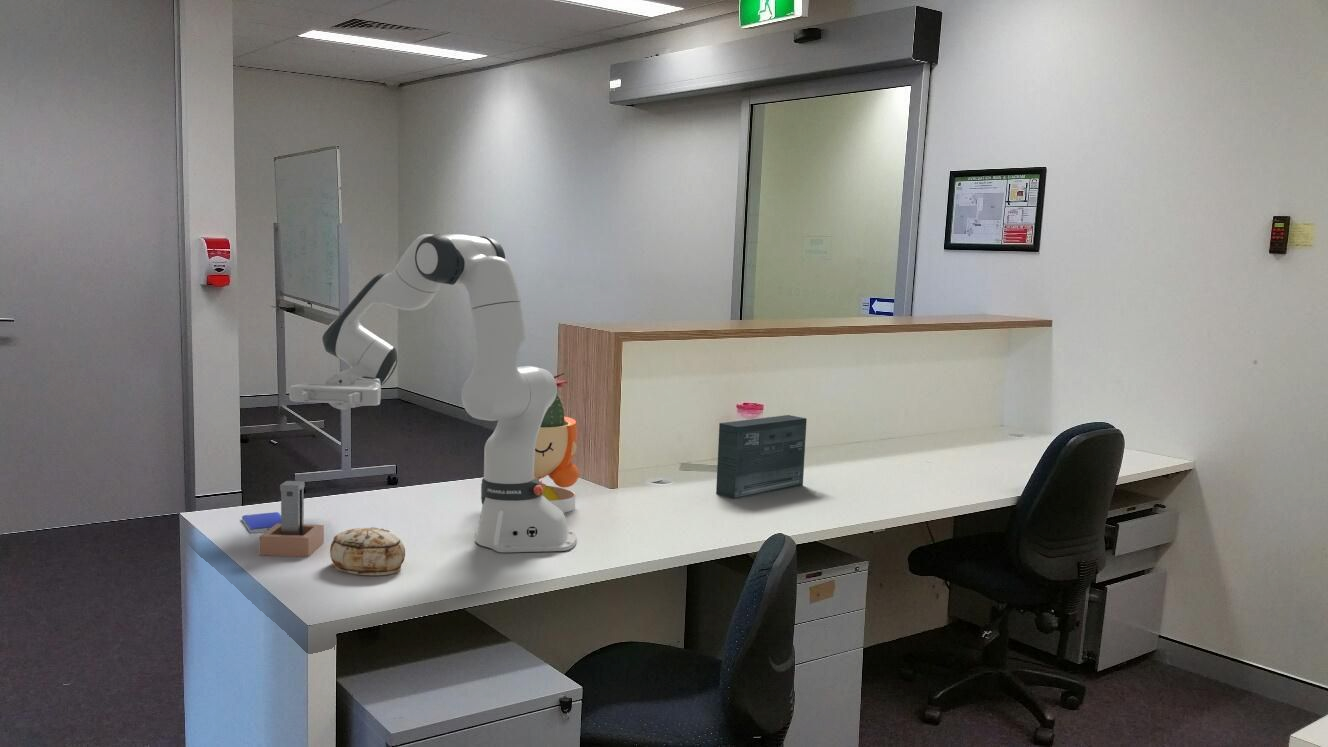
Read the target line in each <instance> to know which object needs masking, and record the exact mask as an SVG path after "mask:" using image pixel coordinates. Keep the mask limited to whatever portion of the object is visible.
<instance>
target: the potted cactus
mask: <svg viewBox="0 0 1328 747" xmlns="http://www.w3.org/2000/svg"><path fill="white" fill-rule="evenodd" d="M563 375H565V372H562V373H560V374H558V375H555V376H554V375H553V377H554V379H555V381H556V384H557V389H558V388H563V385H564V384H568V381H567V380H559V379H557V378H559V377H561V376H563ZM562 399H563V396H559V391H558V390H557V395H556V398H555V400H554V402H553V403H552V405H551V406H550V407H549V408H548V410H547V411H546V413H545V416H544V418H543V421H542V423H541V426H540V429H539V433H538V436H537V441H536V447H535V462H534V478H535V479H537V480H538V481H540V480H541V479H543V478H546V477H547V476H548V477H549V478H550V479H551V480H552V481H553V483H554V484H555V485H556V486H552V485H547V484H546V483H543V494H542V496H544V497H545V498H546V499H547V500H549V501H550V502H551V503H553V504H554V505H555V506H556V507H558V508H559V509H560V510H562V512H563V513H564V514H565V513H568V512H572V511H573V510H575V509H576V499H577V498H576V496H577V494H576V493H575V492H574V491H573V490H571V489H568V488H569V487H571V486H573V485H575V484H576V483H577V481H578V479H579V476H580V472H579V469H578V467H577V466H576V464H573V463H572V461H573V460H574V457H575V455H576V451H577V446H578V426H577V421H576V420H575V419H574V418H572V417H568V416H567V415H568V414H565V411H566V409H567V408H565V406H563V405H564V401H563V400H562Z"/></svg>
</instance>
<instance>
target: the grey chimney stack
mask: <svg viewBox="0 0 1328 747" xmlns="http://www.w3.org/2000/svg"><path fill="white" fill-rule="evenodd" d="M305 487H306V486H305V481H304V480H303V481H300V480H299V481H298V480H286V481H284V482H283V483H281V484H280V485H279V492H280V509H281V510H280V515H281V535H301V536H304V524H305V520H304V519H305V518H304V516H305V514H304V513H305V508H304V505H305V502H304V501H305V500H304V499H305V498H304V497H305V496H304V494H305V493H304V492H305V491H304V490H305V489H304V488H305Z"/></svg>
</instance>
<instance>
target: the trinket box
mask: <svg viewBox="0 0 1328 747" xmlns="http://www.w3.org/2000/svg"><path fill="white" fill-rule="evenodd" d="M329 557H330V560H331V562H332V563H333V564H334V568H335V569H336V570H339V571H340V572H341V571H342V572H345V573H348V574H353V575H358V576H359V575H360V576H361V575H362V576H387V575H392V574H395V573H398V572H400V571H401V570H402V564H403V563H404V561H405V557H406V549H405V545H404V543H403V541H402V540H401V539H400V537H399V536H397V535H396V534H394V533H392V532H391V531H390V530H388V529H384V528H378V527H359V528H358V527H357V528H352V529H348V530H345V531H342V532H340V533H337V534H336V535H334V537H333V541H332V542H331V544H330V547H329Z"/></svg>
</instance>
